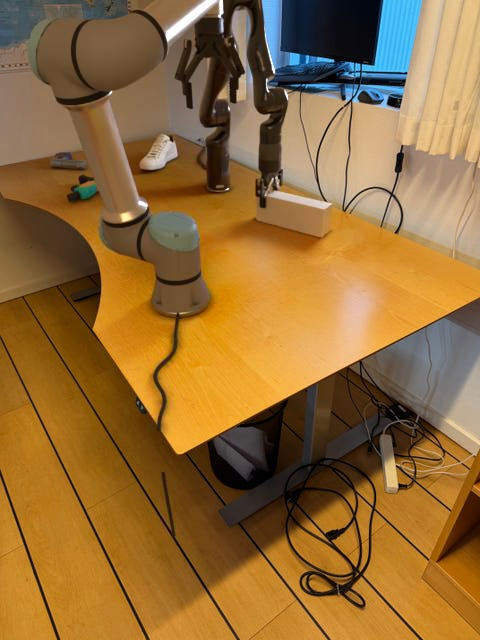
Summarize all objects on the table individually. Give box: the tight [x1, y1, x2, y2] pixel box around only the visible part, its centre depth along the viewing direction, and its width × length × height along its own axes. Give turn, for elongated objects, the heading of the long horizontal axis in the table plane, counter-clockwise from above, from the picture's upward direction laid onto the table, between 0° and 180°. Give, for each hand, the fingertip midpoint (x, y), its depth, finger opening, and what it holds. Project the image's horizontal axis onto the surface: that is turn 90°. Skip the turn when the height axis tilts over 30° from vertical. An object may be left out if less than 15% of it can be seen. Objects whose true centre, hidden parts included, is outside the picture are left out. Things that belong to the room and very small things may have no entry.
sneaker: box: [139, 133, 179, 171], centre depth 214 cm, size 10×29×12 cm, turn 163°
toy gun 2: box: [66, 173, 99, 203], centre depth 188 cm, size 4×26×15 cm
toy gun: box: [48, 151, 88, 170], centre depth 217 cm, size 4×19×15 cm
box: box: [255, 188, 333, 238], centre depth 160 cm, size 25×6×10 cm, turn 56°
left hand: (211, 105), depth 134 cm, fingers open, 13 cm apart
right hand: (268, 203), depth 164 cm, fingers open, 7 cm apart
